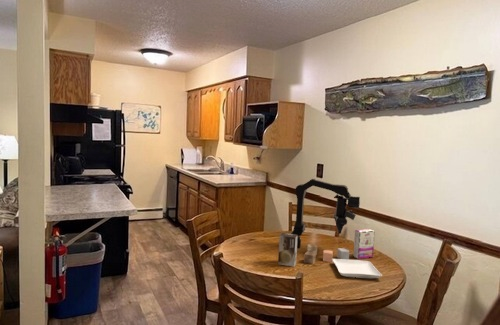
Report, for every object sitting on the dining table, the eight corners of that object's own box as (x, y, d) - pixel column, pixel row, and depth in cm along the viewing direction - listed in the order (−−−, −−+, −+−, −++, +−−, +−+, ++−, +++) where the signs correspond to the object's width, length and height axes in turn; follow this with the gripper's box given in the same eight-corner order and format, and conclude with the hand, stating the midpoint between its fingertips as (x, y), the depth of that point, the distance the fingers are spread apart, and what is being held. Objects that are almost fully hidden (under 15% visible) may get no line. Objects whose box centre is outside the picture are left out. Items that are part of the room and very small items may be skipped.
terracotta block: (323, 261, 197) (323, 252, 197) (322, 258, 202) (323, 249, 201) (332, 262, 196) (332, 253, 196) (331, 259, 201) (332, 250, 201)
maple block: (308, 255, 206) (308, 246, 206) (307, 252, 211) (307, 244, 211) (316, 255, 206) (317, 247, 206) (315, 252, 211) (315, 244, 211)
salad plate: (330, 263, 194) (331, 257, 194) (369, 266, 194) (369, 260, 194) (339, 279, 173) (340, 272, 173) (382, 282, 173) (383, 275, 173)
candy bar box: (367, 255, 212) (369, 228, 211) (373, 257, 208) (375, 230, 206) (352, 256, 208) (354, 229, 207) (357, 259, 203) (360, 231, 202)
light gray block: (341, 259, 201) (341, 251, 201) (336, 256, 206) (337, 248, 206) (348, 259, 202) (349, 251, 202) (344, 256, 207) (345, 248, 207)
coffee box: (296, 263, 191) (298, 234, 190) (293, 267, 185) (296, 237, 184) (280, 260, 194) (282, 232, 193) (277, 264, 188) (279, 235, 187)
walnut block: (303, 262, 193) (304, 253, 192) (306, 260, 197) (307, 251, 197) (312, 264, 191) (313, 255, 190) (315, 261, 195) (315, 253, 195)
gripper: (357, 210, 198) (354, 237, 200) (353, 204, 217) (350, 229, 218) (337, 208, 200) (334, 235, 201) (334, 202, 219) (332, 227, 220)
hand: (339, 231), depth 210 cm, fingers open, 9 cm apart
